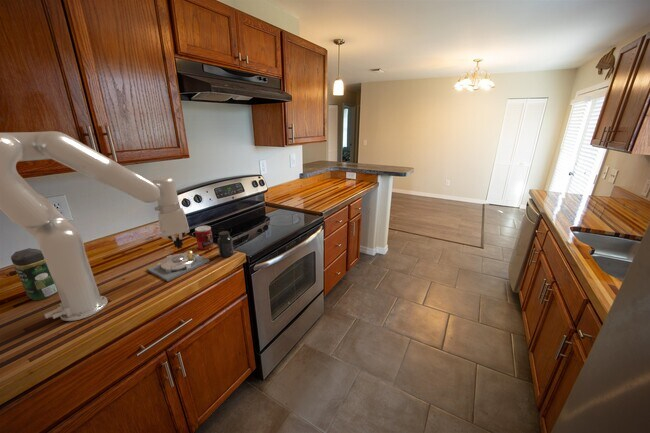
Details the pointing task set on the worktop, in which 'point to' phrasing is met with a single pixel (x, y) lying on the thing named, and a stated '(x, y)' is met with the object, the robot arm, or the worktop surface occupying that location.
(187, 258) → the silver shallow bowl
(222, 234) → the supplement bottle
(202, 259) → the base plate
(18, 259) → the coffee jar
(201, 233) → the canned food
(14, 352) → the worktop surface
